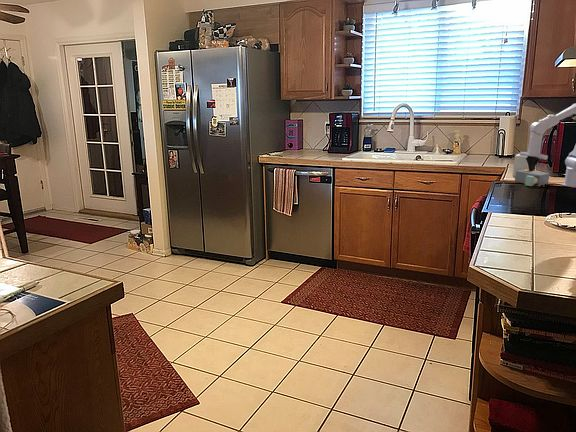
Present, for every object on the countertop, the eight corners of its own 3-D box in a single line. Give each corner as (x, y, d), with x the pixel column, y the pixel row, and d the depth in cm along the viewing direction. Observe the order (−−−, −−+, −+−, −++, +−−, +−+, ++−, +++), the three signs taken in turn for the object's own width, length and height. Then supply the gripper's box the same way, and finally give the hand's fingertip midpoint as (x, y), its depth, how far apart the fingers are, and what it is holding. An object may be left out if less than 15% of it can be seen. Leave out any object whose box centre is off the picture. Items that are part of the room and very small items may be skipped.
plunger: (525, 176, 269) (526, 169, 267) (531, 177, 266) (532, 170, 265) (522, 177, 267) (523, 170, 266) (527, 178, 264) (528, 171, 263)
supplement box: (529, 176, 281) (532, 154, 277) (525, 178, 276) (528, 156, 272) (516, 174, 286) (519, 153, 282) (511, 176, 280) (514, 155, 277)
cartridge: (537, 181, 264) (538, 173, 263) (544, 183, 261) (545, 174, 260) (524, 184, 258) (525, 175, 257) (531, 186, 255) (532, 177, 253)
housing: (524, 179, 273) (525, 169, 271) (547, 184, 261) (549, 173, 260) (514, 181, 268) (516, 170, 266) (538, 186, 257) (540, 175, 255)
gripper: (517, 144, 255) (514, 169, 259) (543, 148, 243) (539, 174, 247) (525, 143, 258) (521, 167, 262) (551, 146, 246) (547, 172, 250)
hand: (531, 170), depth 255 cm, fingers closed
